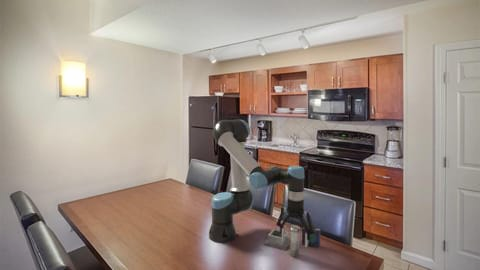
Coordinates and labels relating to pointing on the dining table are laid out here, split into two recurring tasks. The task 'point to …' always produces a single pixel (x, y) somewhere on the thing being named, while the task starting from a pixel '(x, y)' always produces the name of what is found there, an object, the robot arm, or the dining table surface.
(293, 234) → the silver canister
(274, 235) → the duct collar
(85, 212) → the dining table surface
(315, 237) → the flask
